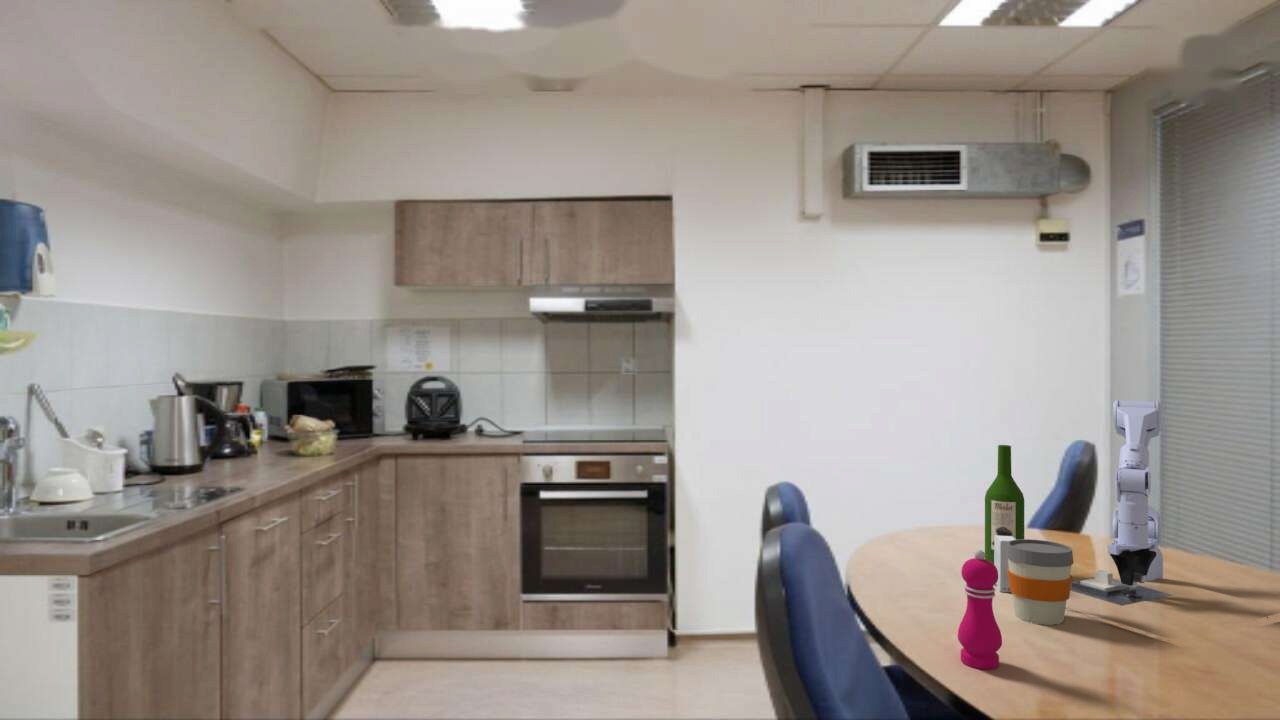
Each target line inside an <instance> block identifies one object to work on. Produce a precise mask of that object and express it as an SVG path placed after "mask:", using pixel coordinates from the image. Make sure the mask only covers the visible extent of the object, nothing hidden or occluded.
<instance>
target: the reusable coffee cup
mask: <svg viewBox="0 0 1280 720" xmlns="http://www.w3.org/2000/svg"><path fill="white" fill-rule="evenodd" d="M1006 557H1007V558H1008V564H1009V568H1008V569H1007V572H1008V579H1009V587H1010V591H1011V592H1010V593H1011V594H1012V599H1013V607H1014V608H1013V609H1014V615H1015V617H1016V618H1017V617H1018V619H1019V618H1020V620H1021V619H1022V621H1023V620H1024V622H1026V621H1028V622H1027V623H1030V622H1032V623H1031V624H1035V623H1037V624H1036V625H1041V624H1047V625H1046V626H1054V625H1053V624H1058V625H1061V624H1060V623H1062V622H1065V621H1064V619H1065V612H1066V605H1067V601H1068V600H1069V599H1070V596H1071V591H1070V589H1071V582H1073V576H1072V575H1071V572H1072V566H1073V565H1074V563H1075V562H1074V554H1073V549H1072V547H1070V546H1068V545H1065V544H1063V543H1059V542H1054V541H1049V540H1043V539H1030V538H1029V539H1027V538H1024V539H1018V540H1011V541H1008V542H1007V550H1006ZM1062 624H1063V623H1062Z"/></svg>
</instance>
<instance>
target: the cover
mask: <svg viewBox="0 0 1280 720" xmlns="http://www.w3.org/2000/svg"><path fill="white" fill-rule="evenodd" d="M1094 578H1095V579H1092V578H1088V579H1089V580H1086V579H1083V580H1084V581H1081V580H1079V581H1080V584H1083V585H1087V586H1090V587H1094V588H1097V589H1101V590H1104V591H1108V590H1114V589H1119V588H1124V587H1122V586H1119V585H1115V584H1111V581H1113V579H1114V575H1113V573H1112V572H1111V571H1110V572H1108V571H1106V570H1100V569H1099V570H1098V569H1097V570H1094Z"/></svg>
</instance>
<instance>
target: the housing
mask: <svg viewBox="0 0 1280 720" xmlns="http://www.w3.org/2000/svg"><path fill="white" fill-rule="evenodd" d="M1089 579H1090V578H1087V579H1082V580H1076V581H1072V582H1071V589H1070V592H1074V593H1077V594H1081V595H1084V596H1087V597H1091V598H1094V599H1098V600H1100V601H1101V600H1102V601H1105V602H1108V603H1110V604H1114V605H1118V606H1126V605H1131V604H1137V603H1140V602H1146V601H1150V600H1157V599H1161V598H1166V597H1170V596H1173V594H1172V593H1168V592H1165V591H1161V590H1157V589H1153V588H1150V587H1145V586H1142V585H1138V584H1137V594H1130V593H1129V588H1126V587H1124V588H1119V589H1114V590H1108V591H1104V590H1101V589H1097V588H1094V587H1090V586H1087V585H1083V584H1080V581H1084V580H1089ZM1091 579H1095V577H1093V578H1091ZM1113 580H1115V581H1119V582H1121V580H1118V579H1115V578H1113Z"/></svg>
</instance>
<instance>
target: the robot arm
mask: <svg viewBox="0 0 1280 720" xmlns="http://www.w3.org/2000/svg"><path fill="white" fill-rule="evenodd" d="M1112 407H1113V408H1112V415H1113V417H1112V418H1113V420H1112V421H1113V424H1114V429H1115V432H1116V434H1117V435H1119V436H1121V437H1123V438H1124V439H1125V444H1124V445H1122V446H1121V448H1120V449H1119V459H1118V460H1119V462H1118V469H1116V471H1115V476H1114V477H1115V479H1114V481H1115V485H1114V486H1115V491H1116V501H1117V502H1118V503H1117V507H1116V508H1115V509H1114V511H1113V517H1112V529H1111V530H1112V539H1113V540H1112V542H1111V543H1108V544H1107V554H1109V556H1110V557H1111V558H1112V560H1113V562H1114V564H1115V567H1116V569H1117V572H1118V575H1119V579H1120V580H1119V581H1121V583H1122V584H1126V585H1130V586H1131V585H1133V581H1134V573H1138V574H1142V575H1146V582H1153V581H1155V580H1157V579H1161V580H1164V557H1163V553H1162V550H1161V549H1160V548H1159V547H1158V546H1159V545H1161V543H1162V542H1161V541H1162V522H1161V515H1160V513H1159V511H1156V510H1155V509H1154V508H1153V507H1151V506H1150V505H1149V496H1150V494H1151V489H1152V488H1151V487H1152V486H1151V485H1152V484H1151V483H1152V481H1151V480H1152V479H1151V478H1152V477H1151V470H1150V450H1149V448H1148V447H1149V445H1150V442H1151V439H1153V438H1156V437H1158V436H1160V432H1161V425H1162V403H1161V402H1160V401H1159V400H1155V401H1152V400H1121V399H1120V400H1119V399H1115V400H1114V402H1113V406H1112ZM1137 583H1141V584H1145V582H1139V581H1137Z"/></svg>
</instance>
